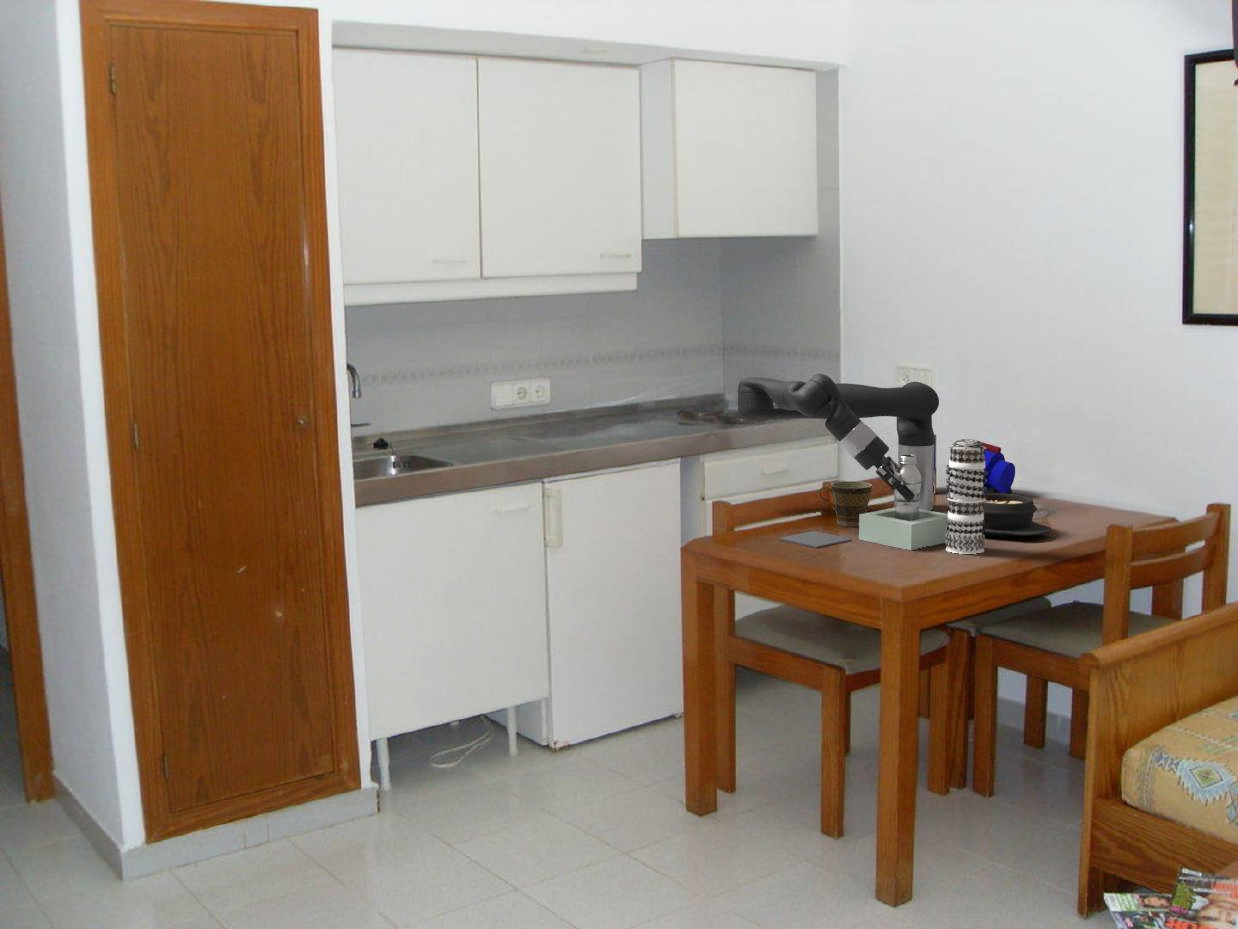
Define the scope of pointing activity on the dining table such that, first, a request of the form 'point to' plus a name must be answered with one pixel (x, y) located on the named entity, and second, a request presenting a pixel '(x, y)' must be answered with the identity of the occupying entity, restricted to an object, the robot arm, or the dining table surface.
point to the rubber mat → (815, 539)
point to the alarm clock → (997, 471)
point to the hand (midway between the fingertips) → (913, 495)
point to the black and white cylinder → (966, 497)
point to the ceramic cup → (849, 501)
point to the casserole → (1010, 516)
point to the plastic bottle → (913, 482)
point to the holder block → (903, 529)
